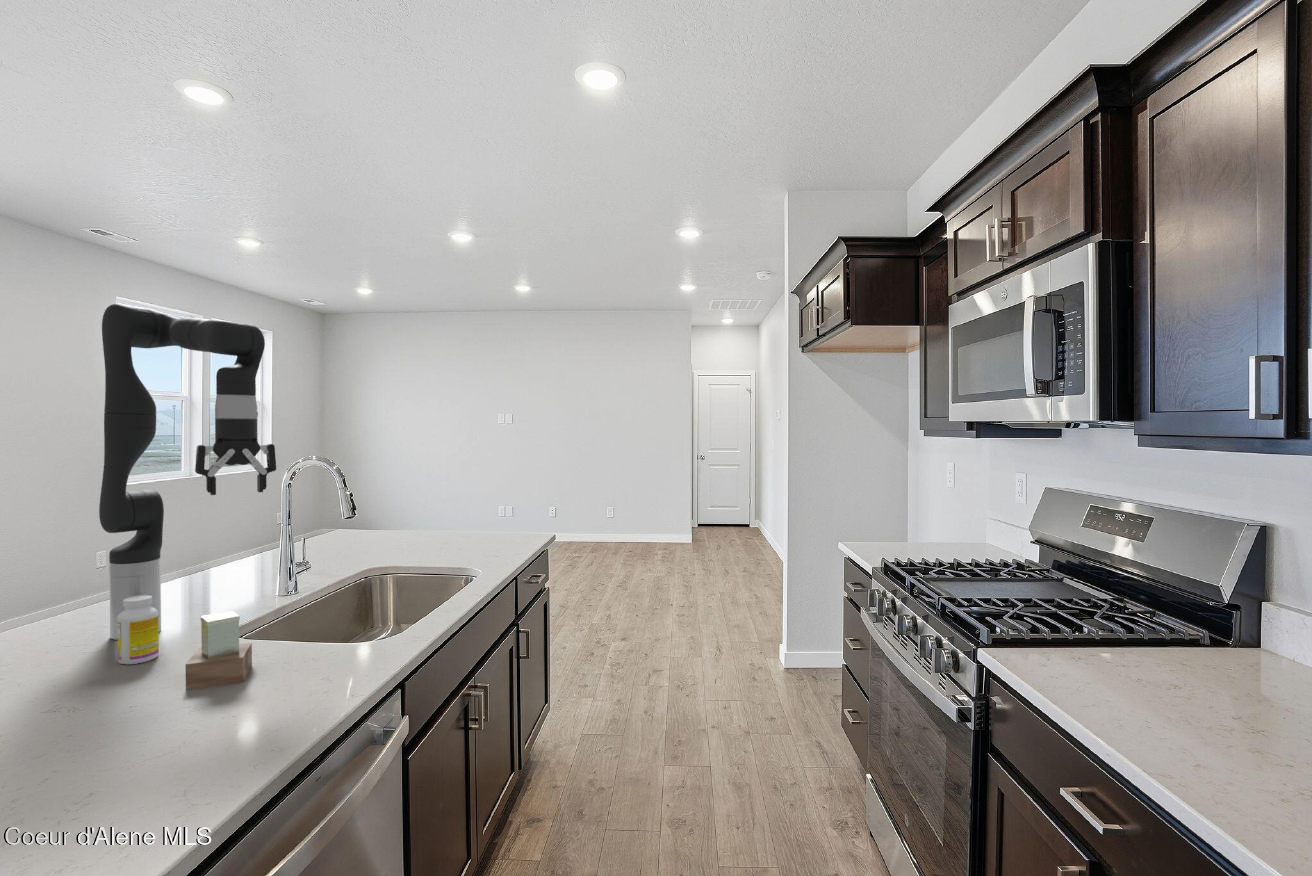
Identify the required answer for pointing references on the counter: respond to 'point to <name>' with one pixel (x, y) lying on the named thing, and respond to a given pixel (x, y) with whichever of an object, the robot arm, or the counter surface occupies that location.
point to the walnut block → (218, 668)
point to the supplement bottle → (138, 631)
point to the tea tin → (220, 634)
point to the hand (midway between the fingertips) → (237, 493)
